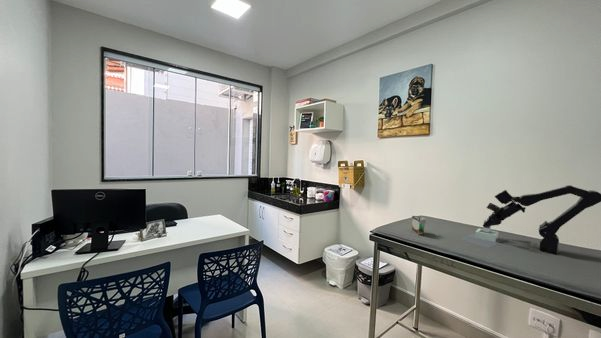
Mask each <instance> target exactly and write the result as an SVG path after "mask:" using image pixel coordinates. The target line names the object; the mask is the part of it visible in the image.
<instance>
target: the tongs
mask: <svg viewBox="0 0 601 338" xmlns="http://www.w3.org/2000/svg"><path fill="white" fill-rule="evenodd" d="M488 220H489V217H488V218H486V219H484V220H483V224H484V223H486V222H487V221H488ZM491 228H492V226H486V227H483V229H484V231H483V232H484V233H489V234H490V230H491Z"/></svg>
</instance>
